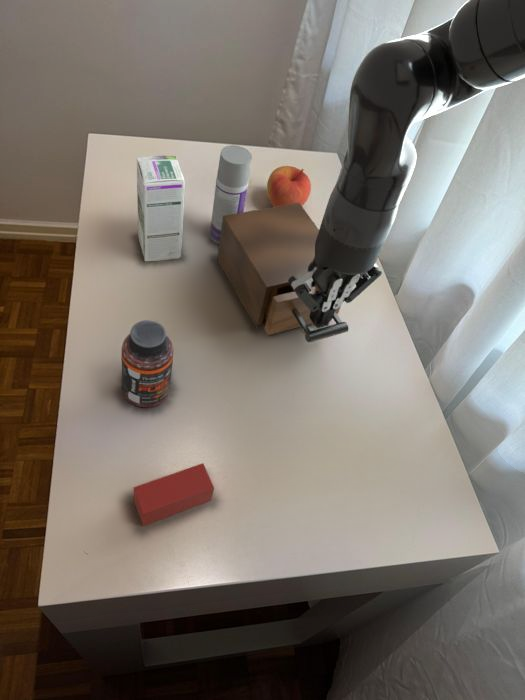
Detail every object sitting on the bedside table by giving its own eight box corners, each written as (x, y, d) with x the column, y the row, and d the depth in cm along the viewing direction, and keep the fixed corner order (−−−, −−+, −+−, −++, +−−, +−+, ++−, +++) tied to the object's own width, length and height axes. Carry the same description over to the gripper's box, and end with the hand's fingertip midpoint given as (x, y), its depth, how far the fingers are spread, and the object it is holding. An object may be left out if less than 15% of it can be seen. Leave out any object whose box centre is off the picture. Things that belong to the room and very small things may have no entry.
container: (227, 222, 94) (239, 141, 83) (244, 239, 93) (259, 159, 81) (204, 231, 92) (213, 149, 80) (221, 249, 90) (233, 168, 79)
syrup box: (181, 259, 88) (188, 179, 76) (143, 263, 86) (143, 182, 74) (173, 233, 91) (178, 154, 79) (136, 237, 89) (135, 155, 78)
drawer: (355, 345, 82) (370, 313, 76) (285, 365, 77) (296, 334, 72) (294, 255, 91) (304, 221, 86) (229, 269, 87) (235, 234, 81)
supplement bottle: (139, 417, 70) (138, 363, 61) (113, 383, 72) (109, 326, 63) (179, 395, 73) (185, 339, 64) (153, 363, 75) (155, 305, 66)
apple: (261, 192, 101) (268, 152, 95) (301, 195, 102) (311, 156, 96) (265, 220, 96) (274, 180, 90) (307, 222, 98) (318, 183, 92)
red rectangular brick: (200, 476, 67) (203, 462, 64) (211, 500, 65) (214, 487, 62) (133, 500, 63) (133, 487, 61) (142, 526, 62) (142, 514, 59)
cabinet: (331, 309, 86) (347, 268, 80) (256, 328, 82) (266, 287, 75) (287, 244, 94) (299, 202, 87) (216, 259, 89) (222, 215, 82)
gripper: (322, 256, 60) (288, 355, 73) (421, 235, 65) (373, 331, 78) (289, 210, 64) (263, 313, 77) (386, 193, 69) (345, 292, 82)
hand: (318, 322), depth 78 cm, fingers closed
